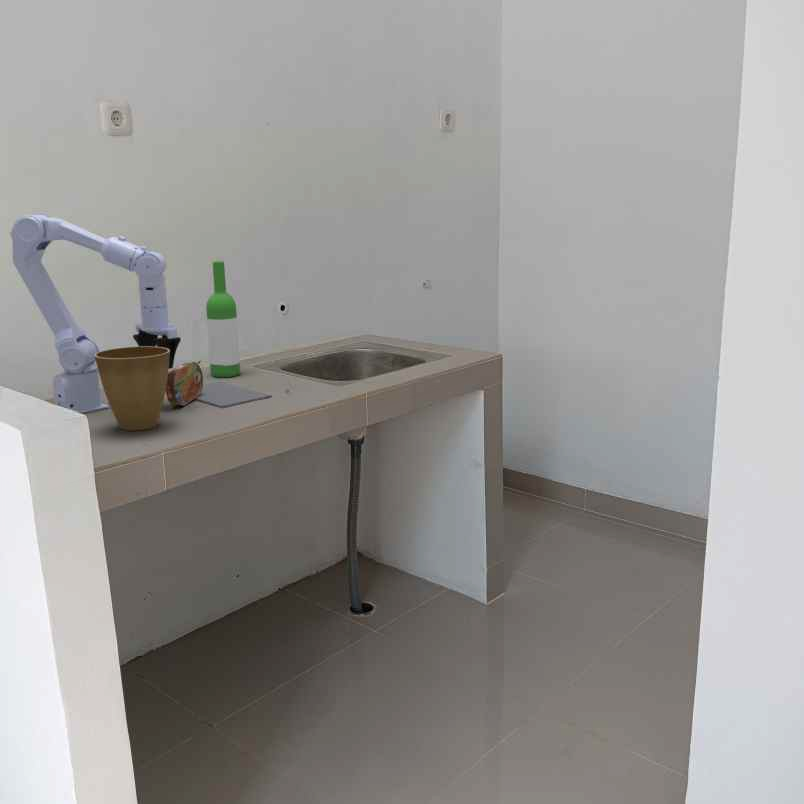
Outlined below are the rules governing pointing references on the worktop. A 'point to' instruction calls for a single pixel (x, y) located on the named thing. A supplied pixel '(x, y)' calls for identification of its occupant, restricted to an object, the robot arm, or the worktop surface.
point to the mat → (228, 394)
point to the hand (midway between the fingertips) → (158, 366)
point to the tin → (184, 384)
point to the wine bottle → (222, 327)
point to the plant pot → (134, 384)
